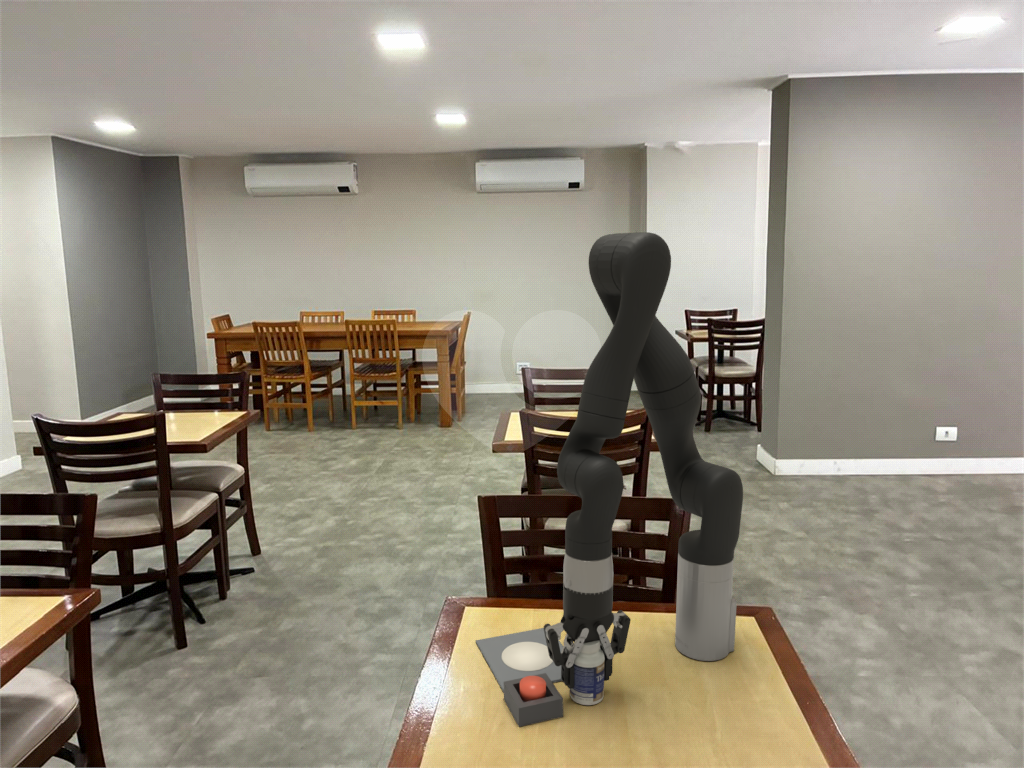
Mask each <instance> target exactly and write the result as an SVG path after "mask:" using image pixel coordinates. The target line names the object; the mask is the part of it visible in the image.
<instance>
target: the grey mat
mask: <svg viewBox="0 0 1024 768" xmlns="http://www.w3.org/2000/svg"><path fill="white" fill-rule="evenodd" d="M558 642H559V647H560V652H561V651H562V649H563V646H564V644H562V642H561V641H560V640H558ZM475 644H476V645H477V647H478V649H479V651H480V653H481V654H482V657H483V658H484V660H485V662H486V663H487V666H488V667H489V669H490V671H491V673H492V675H493V676H494V679H495V680H496V682H497V684H498V685H499V688H500V689H501V691H502V692H503V694H504V682H505V681H510V680H514V679H519V678H524V677H527V676H534V675H538V674H543V673H546V674H547V676H548V677H549V678H550V680H551V681H552V683H553V684H554V683H558V682H563V681H562V679H561V665H560V666H556V665H555V664H554V662H553V660H552V659H551V658H550V657H549V653H548V648H547V643H546V638H545V633H544V627H541V628H534V629H529V630H524V631H519V632H514V633H508V634H503V635H498V636H493V637H492V636H491V637H487V638H481V639H476V640H475Z"/></svg>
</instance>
